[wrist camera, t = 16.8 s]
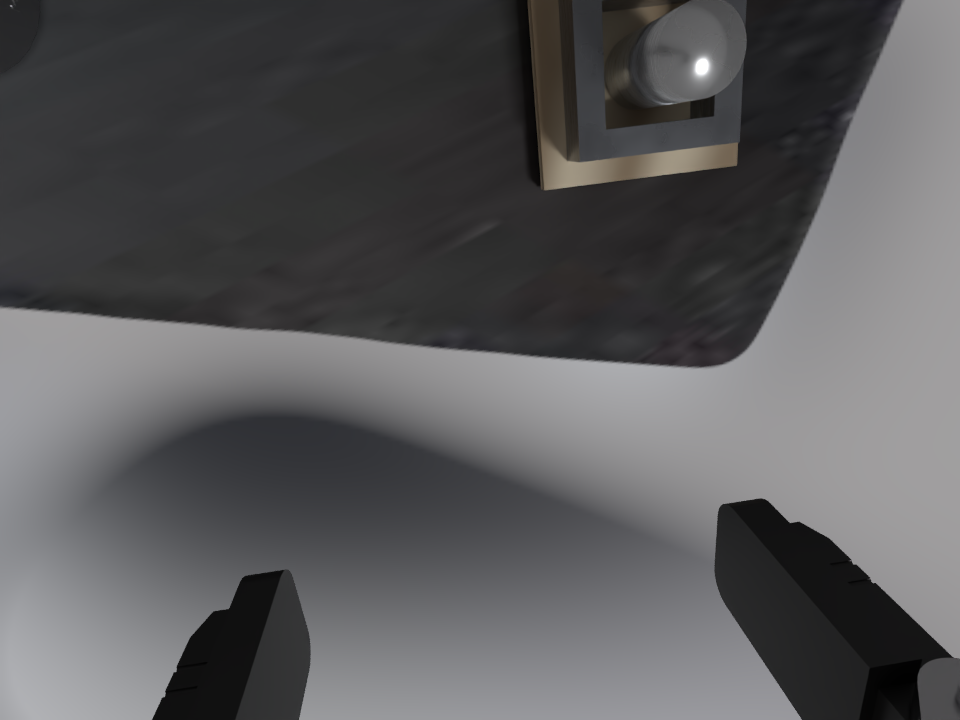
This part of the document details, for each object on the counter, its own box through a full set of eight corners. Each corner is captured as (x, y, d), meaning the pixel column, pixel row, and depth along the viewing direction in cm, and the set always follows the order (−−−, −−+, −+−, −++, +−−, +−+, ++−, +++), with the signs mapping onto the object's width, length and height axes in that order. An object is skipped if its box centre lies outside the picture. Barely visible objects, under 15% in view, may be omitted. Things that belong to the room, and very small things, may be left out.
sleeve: (567, 161, 34) (579, 162, 31) (557, -15, 30) (570, -31, 28) (713, 142, 34) (739, 142, 31) (719, -34, 31) (749, -52, 28)
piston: (604, 113, 33) (656, 103, 25) (603, 35, 31) (658, 0, 24) (671, 106, 33) (743, 94, 26) (673, 28, 32) (749, -8, 24)
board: (541, 189, 35) (544, 190, 34) (524, -39, 31) (527, -45, 30) (728, 165, 35) (736, 165, 35) (738, -63, 31) (748, -70, 30)
